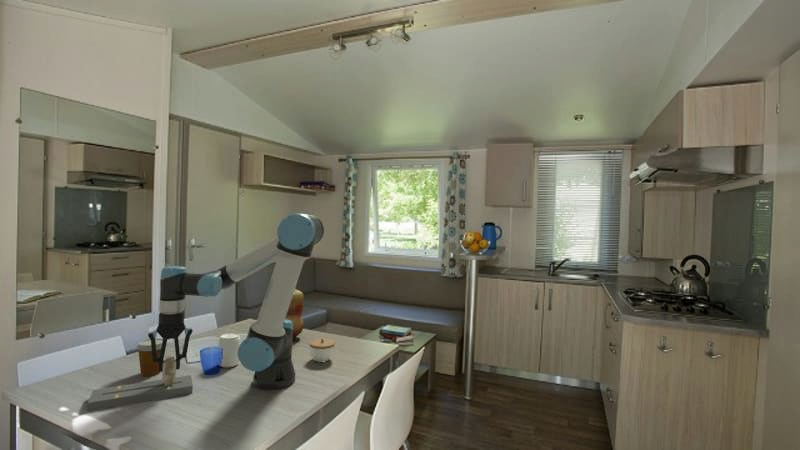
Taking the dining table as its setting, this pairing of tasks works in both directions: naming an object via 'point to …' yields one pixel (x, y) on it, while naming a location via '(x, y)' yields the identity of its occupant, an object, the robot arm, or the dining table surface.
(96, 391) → the fader console
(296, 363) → the dining table surface
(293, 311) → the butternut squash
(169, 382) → the beige tall block
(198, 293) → the robot arm
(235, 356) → the white lidded canister
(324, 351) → the lidded jar
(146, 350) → the disposable coffee cup
